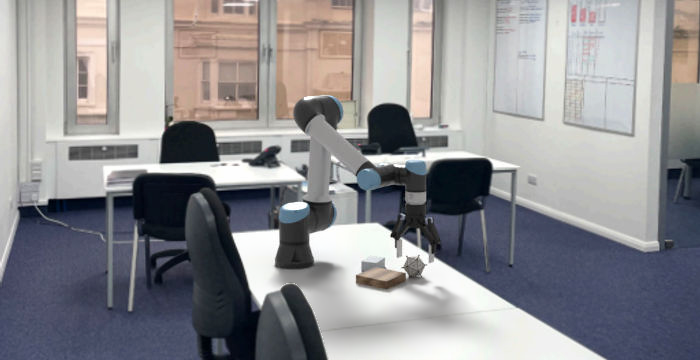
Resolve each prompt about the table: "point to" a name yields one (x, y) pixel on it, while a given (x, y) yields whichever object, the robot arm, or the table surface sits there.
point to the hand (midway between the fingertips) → (415, 259)
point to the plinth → (380, 278)
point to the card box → (372, 263)
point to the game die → (414, 266)
